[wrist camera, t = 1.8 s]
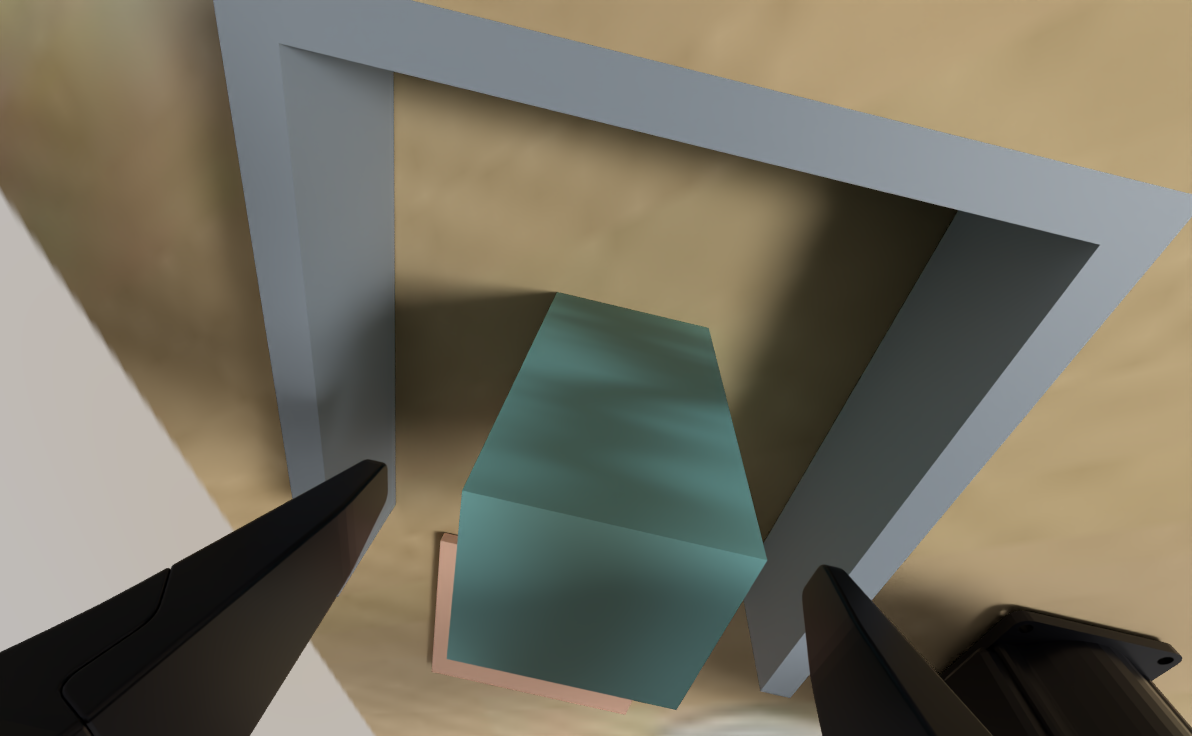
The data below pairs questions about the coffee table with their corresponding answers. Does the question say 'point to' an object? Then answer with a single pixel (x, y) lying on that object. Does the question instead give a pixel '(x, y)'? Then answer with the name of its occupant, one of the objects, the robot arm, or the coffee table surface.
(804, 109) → the open-front gray frame
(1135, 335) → the coffee table surface
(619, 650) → the teal block
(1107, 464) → the coffee table surface
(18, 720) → the robot arm
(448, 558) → the terracotta mat
